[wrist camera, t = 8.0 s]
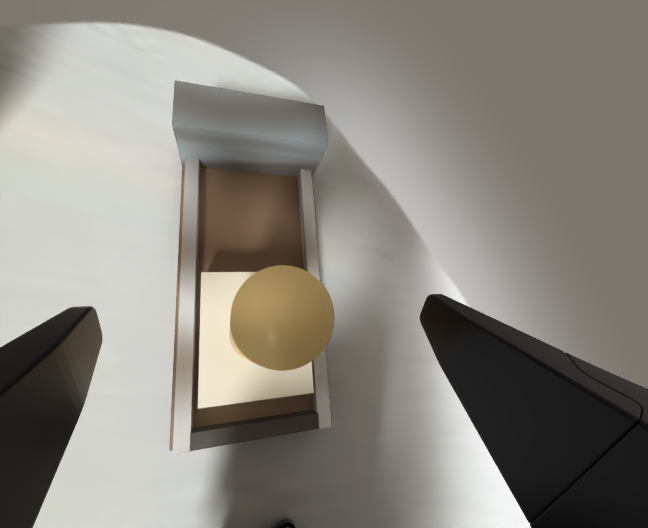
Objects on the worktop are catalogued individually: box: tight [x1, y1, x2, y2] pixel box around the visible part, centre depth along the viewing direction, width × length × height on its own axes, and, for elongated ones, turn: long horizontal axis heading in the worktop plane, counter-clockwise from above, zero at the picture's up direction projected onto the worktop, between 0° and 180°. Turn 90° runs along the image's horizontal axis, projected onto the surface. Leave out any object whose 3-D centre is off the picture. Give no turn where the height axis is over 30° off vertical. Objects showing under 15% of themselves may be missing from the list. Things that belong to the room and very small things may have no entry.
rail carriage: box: [198, 265, 334, 409], centre depth 13 cm, size 7×6×11 cm
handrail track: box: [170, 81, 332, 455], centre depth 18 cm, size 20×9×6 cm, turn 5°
